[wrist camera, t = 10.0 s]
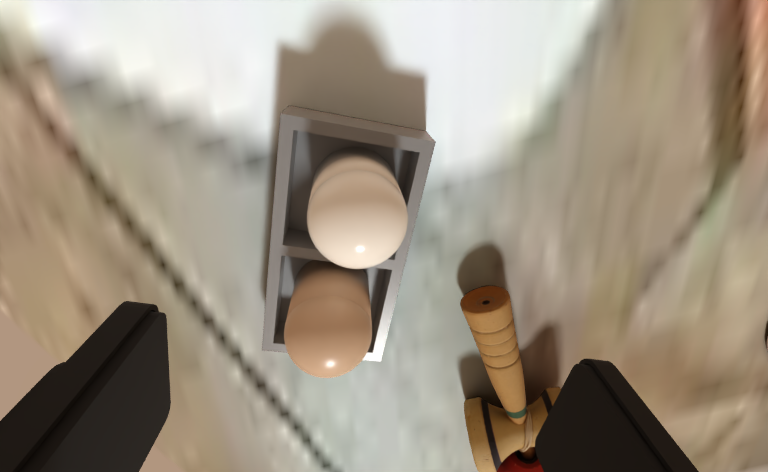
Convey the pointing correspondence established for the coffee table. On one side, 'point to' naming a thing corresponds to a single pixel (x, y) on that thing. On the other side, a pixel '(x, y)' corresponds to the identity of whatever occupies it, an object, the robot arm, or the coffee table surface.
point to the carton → (315, 272)
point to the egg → (356, 209)
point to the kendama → (502, 389)
